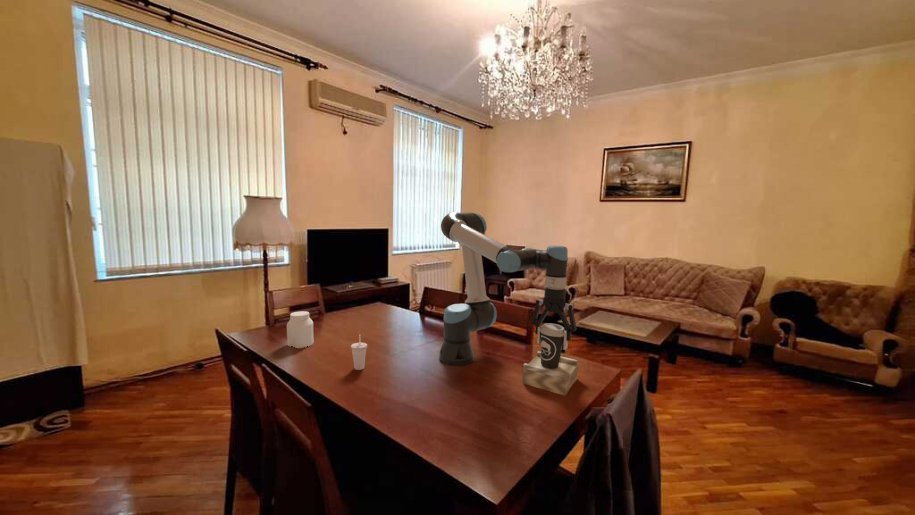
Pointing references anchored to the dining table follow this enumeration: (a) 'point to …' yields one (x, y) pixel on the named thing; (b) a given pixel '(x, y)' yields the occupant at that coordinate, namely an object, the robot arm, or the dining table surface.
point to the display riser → (551, 375)
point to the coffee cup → (551, 344)
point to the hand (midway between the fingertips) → (552, 345)
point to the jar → (300, 330)
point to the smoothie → (359, 354)
